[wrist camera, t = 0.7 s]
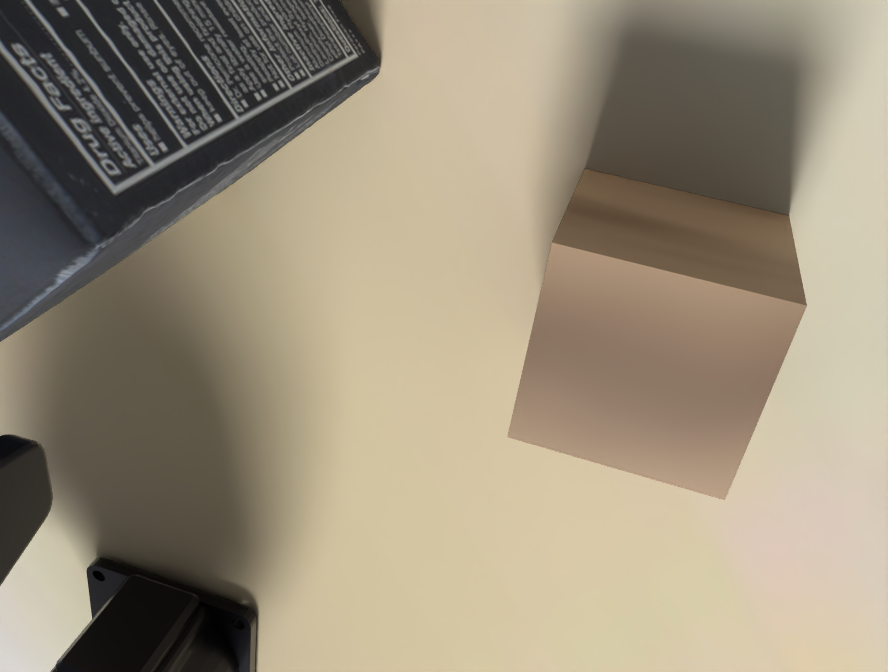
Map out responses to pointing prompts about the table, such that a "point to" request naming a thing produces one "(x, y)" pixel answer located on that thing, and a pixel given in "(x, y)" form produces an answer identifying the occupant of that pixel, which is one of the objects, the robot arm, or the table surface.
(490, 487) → the table surface
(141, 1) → the small box
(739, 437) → the walnut cube
